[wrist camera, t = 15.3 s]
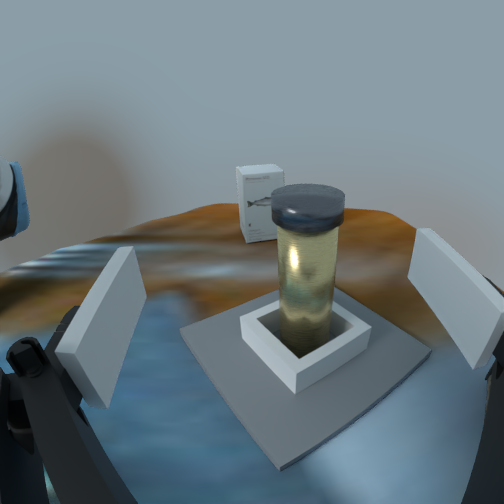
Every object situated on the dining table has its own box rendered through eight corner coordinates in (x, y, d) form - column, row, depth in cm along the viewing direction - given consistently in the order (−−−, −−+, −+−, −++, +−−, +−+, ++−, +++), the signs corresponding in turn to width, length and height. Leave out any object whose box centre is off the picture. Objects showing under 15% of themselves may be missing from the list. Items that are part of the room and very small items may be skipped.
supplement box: (245, 244, 55) (240, 174, 50) (240, 228, 62) (235, 165, 56) (286, 239, 56) (284, 170, 51) (276, 224, 63) (274, 162, 57)
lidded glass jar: (265, 341, 32) (256, 192, 25) (307, 320, 35) (310, 180, 27) (298, 374, 28) (303, 211, 20) (343, 347, 30) (359, 195, 23)
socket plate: (181, 335, 35) (174, 308, 33) (313, 279, 44) (314, 255, 42) (279, 471, 20) (280, 451, 18) (429, 355, 29) (440, 328, 27)
